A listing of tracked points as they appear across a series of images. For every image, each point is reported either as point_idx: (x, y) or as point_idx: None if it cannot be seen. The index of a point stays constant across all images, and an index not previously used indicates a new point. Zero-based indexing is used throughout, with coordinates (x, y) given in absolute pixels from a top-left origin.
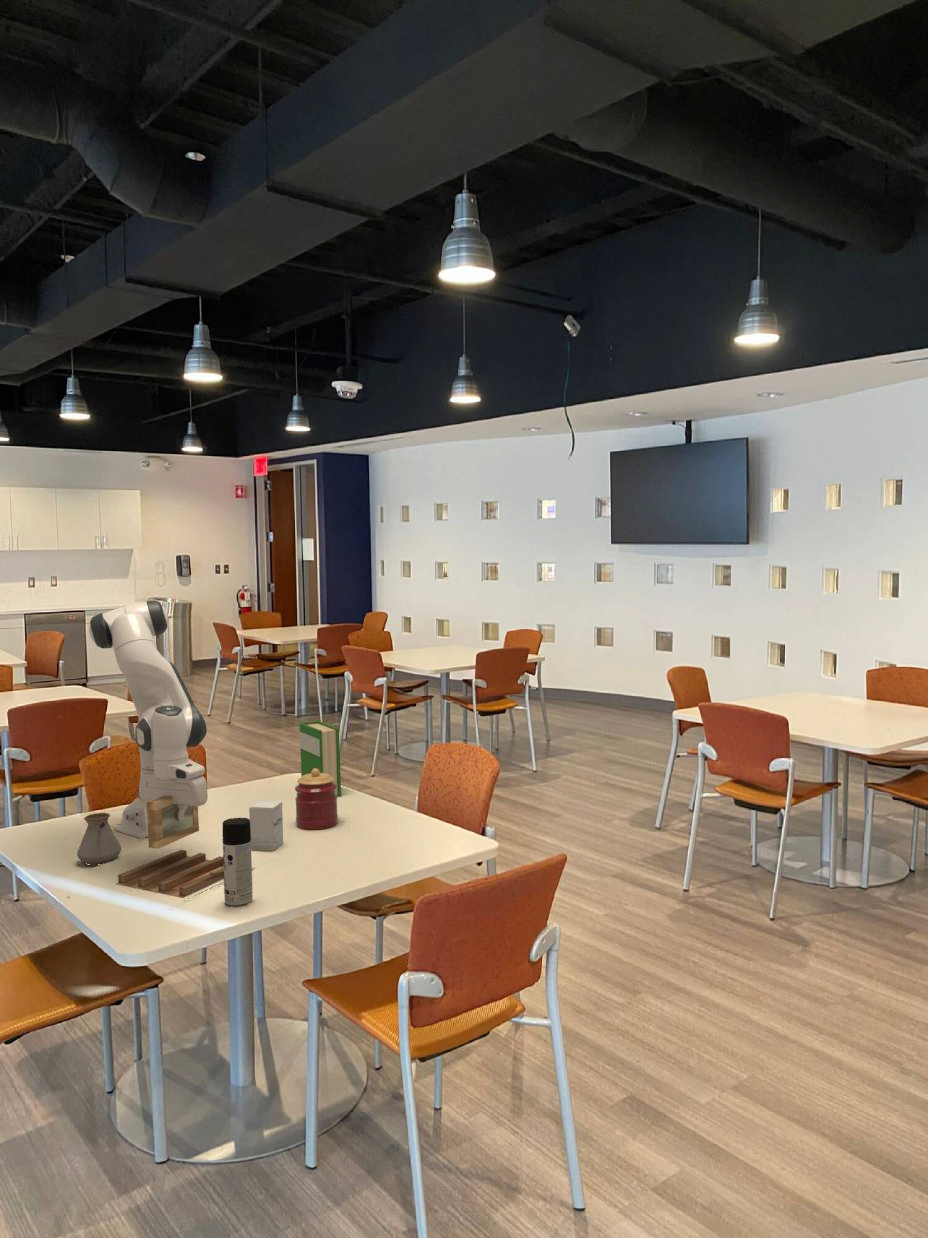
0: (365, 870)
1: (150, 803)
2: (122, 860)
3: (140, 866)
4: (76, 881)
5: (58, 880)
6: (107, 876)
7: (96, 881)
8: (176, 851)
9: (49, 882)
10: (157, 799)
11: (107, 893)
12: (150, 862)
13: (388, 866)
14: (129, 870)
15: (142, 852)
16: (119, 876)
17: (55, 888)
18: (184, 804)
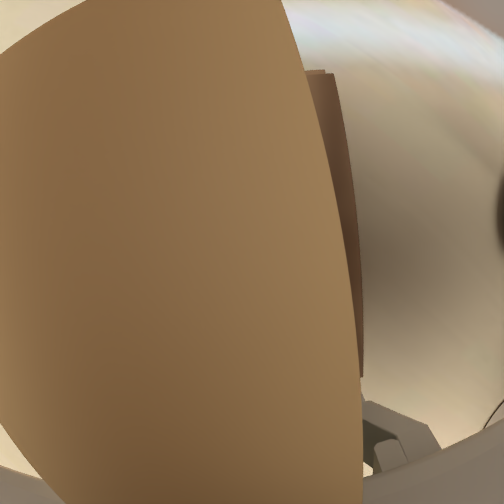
0: (4, 439)
1: (63, 38)
2: (495, 254)
3: (346, 178)
4: (460, 69)
5: (492, 62)
6: (435, 134)
7: (422, 89)
8: (362, 359)
9: (492, 46)
10: (184, 454)
11: (297, 35)
12: (353, 232)
13: (6, 455)
14: (342, 125)
15: (489, 324)
16: (325, 74)
17: (448, 16)
18: (40, 483)
